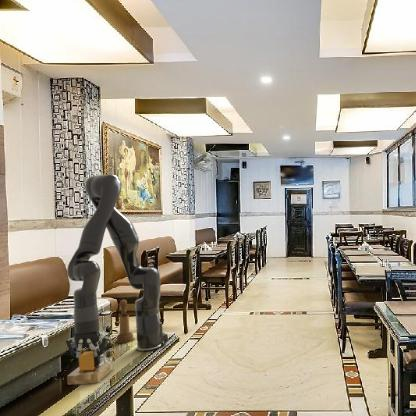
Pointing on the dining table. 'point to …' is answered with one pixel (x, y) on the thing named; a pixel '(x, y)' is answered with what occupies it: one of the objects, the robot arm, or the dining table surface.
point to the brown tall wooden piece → (124, 325)
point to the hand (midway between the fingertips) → (89, 366)
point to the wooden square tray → (88, 375)
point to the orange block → (86, 361)
